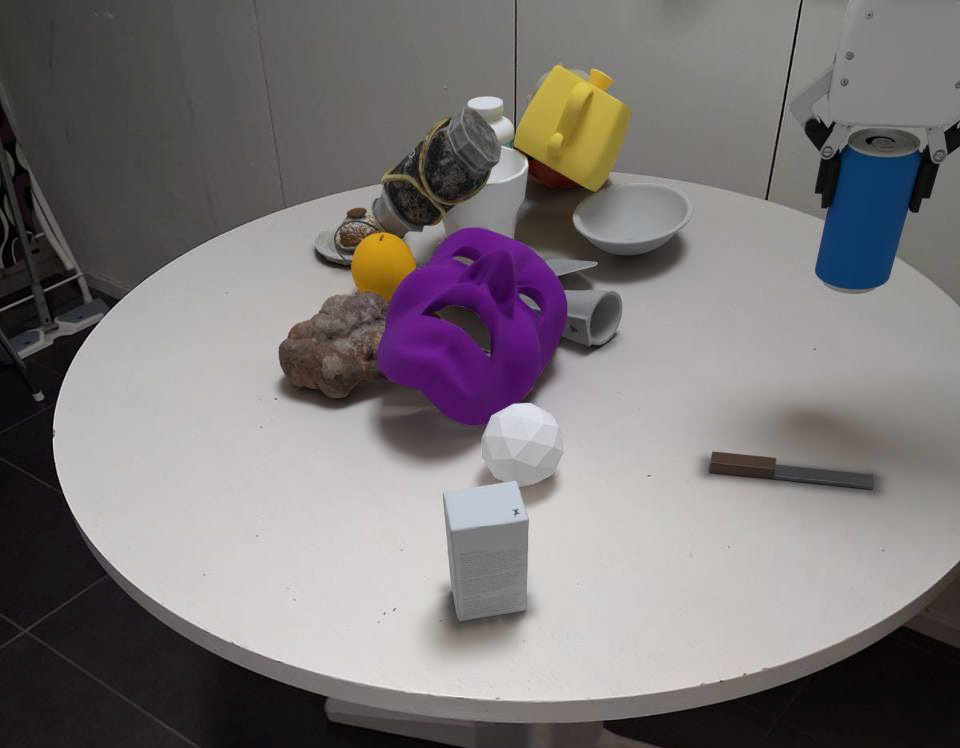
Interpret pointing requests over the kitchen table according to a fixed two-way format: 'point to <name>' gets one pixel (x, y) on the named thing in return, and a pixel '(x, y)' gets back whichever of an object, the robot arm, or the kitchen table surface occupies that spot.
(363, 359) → the rock
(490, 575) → the cosmetic box
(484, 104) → the pill bottle
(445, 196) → the lantern
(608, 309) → the grey hollow tube
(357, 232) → the pastry
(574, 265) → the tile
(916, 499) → the kitchen table surface
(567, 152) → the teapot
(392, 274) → the apple
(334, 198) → the kitchen table surface
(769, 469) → the knife
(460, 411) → the mask
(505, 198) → the cup
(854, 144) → the beverage can
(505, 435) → the geometric ball
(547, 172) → the toy
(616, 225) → the dish
